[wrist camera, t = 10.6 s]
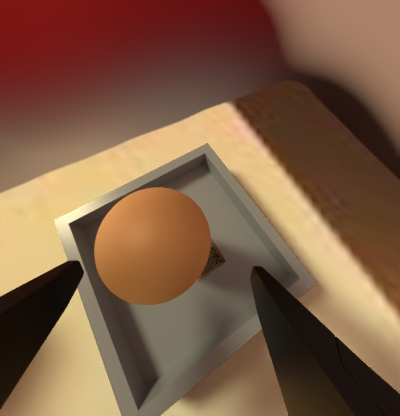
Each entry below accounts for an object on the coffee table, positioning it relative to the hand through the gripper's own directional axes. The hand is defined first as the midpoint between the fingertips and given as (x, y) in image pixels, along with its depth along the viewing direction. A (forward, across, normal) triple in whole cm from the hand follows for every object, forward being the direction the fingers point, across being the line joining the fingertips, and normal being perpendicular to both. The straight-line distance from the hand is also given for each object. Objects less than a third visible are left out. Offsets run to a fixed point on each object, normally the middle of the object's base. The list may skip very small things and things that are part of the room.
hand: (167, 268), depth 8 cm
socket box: (+8, 0, +6) cm, 10 cm away
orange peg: (+8, 0, +6) cm, 10 cm away
